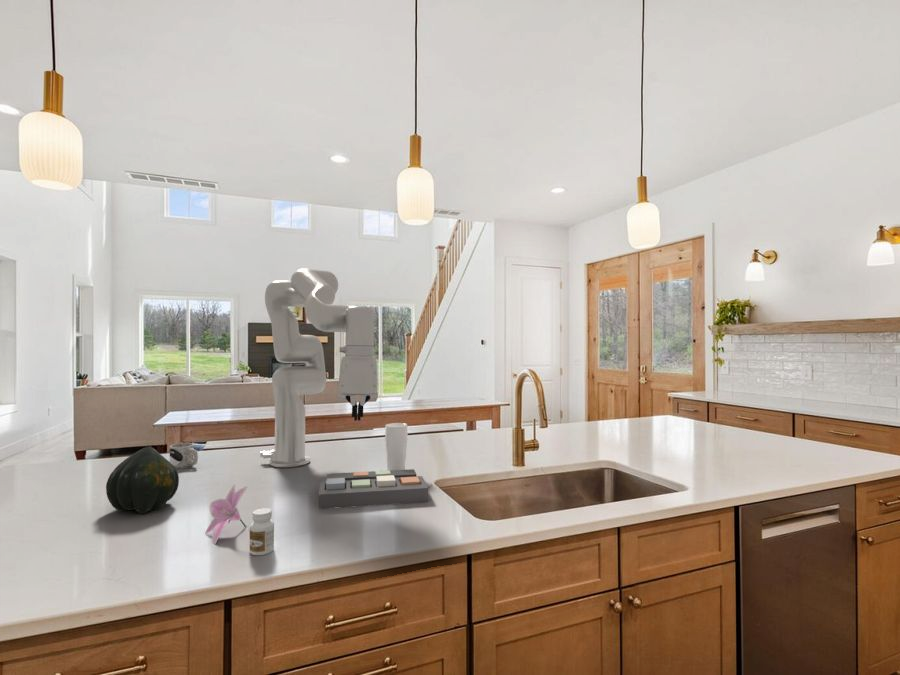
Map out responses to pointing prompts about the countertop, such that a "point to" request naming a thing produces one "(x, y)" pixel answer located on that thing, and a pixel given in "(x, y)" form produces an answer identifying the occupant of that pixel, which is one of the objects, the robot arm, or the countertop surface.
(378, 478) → the cream key
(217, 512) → the lily
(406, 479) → the terracotta key
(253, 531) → the pill bottle
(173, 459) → the mug
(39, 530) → the countertop surface
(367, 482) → the sage key
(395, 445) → the drinking glass
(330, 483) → the slate key
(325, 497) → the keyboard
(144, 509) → the squash
